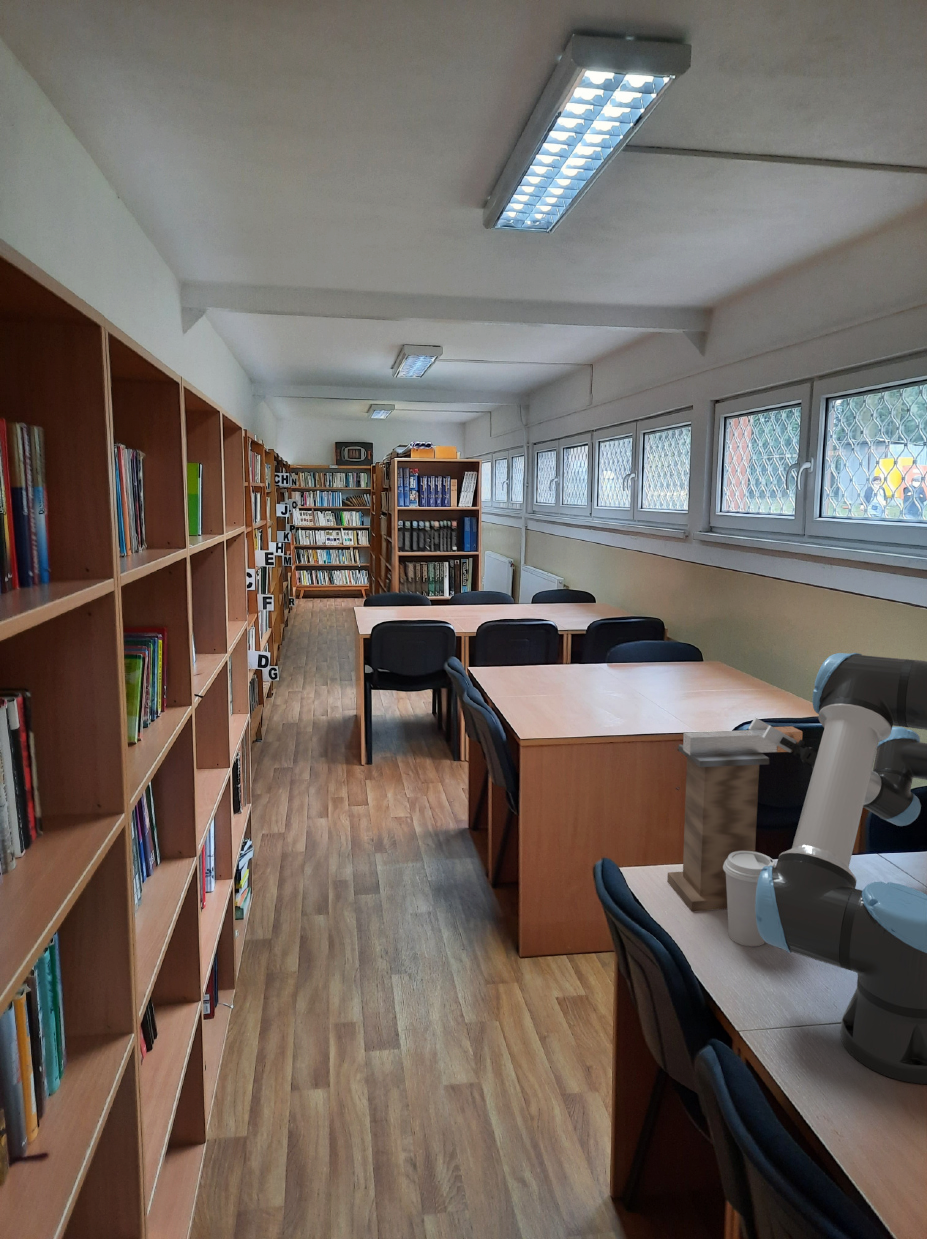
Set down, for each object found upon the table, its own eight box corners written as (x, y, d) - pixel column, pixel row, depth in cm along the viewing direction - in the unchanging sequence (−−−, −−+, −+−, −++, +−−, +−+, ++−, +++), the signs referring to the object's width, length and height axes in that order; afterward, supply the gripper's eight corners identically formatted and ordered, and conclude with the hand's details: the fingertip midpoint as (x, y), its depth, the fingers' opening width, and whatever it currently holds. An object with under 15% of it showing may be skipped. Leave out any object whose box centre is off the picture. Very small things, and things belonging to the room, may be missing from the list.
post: (739, 877, 177) (746, 740, 173) (769, 906, 164) (776, 759, 160) (667, 881, 175) (672, 743, 171) (691, 911, 162) (697, 762, 158)
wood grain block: (791, 745, 169) (792, 726, 169) (801, 751, 165) (802, 731, 165) (682, 749, 167) (683, 730, 166) (690, 755, 163) (691, 735, 162)
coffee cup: (769, 956, 146) (773, 875, 144) (714, 942, 151) (717, 863, 149) (779, 932, 154) (783, 855, 152) (726, 919, 159) (729, 844, 157)
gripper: (867, 811, 161) (771, 757, 157) (816, 780, 179) (729, 731, 175) (887, 778, 160) (792, 723, 156) (834, 750, 178) (748, 700, 174)
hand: (759, 727), depth 166 cm, fingers open, 5 cm apart
